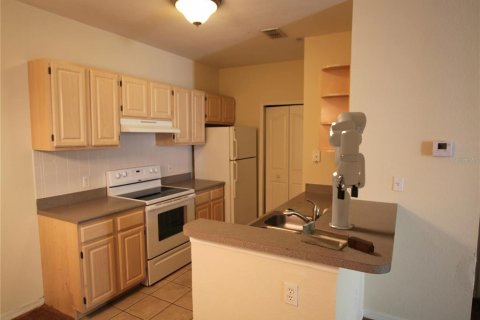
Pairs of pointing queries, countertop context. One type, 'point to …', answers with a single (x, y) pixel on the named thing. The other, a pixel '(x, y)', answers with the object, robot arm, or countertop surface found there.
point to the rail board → (323, 237)
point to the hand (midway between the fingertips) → (347, 198)
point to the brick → (360, 244)
